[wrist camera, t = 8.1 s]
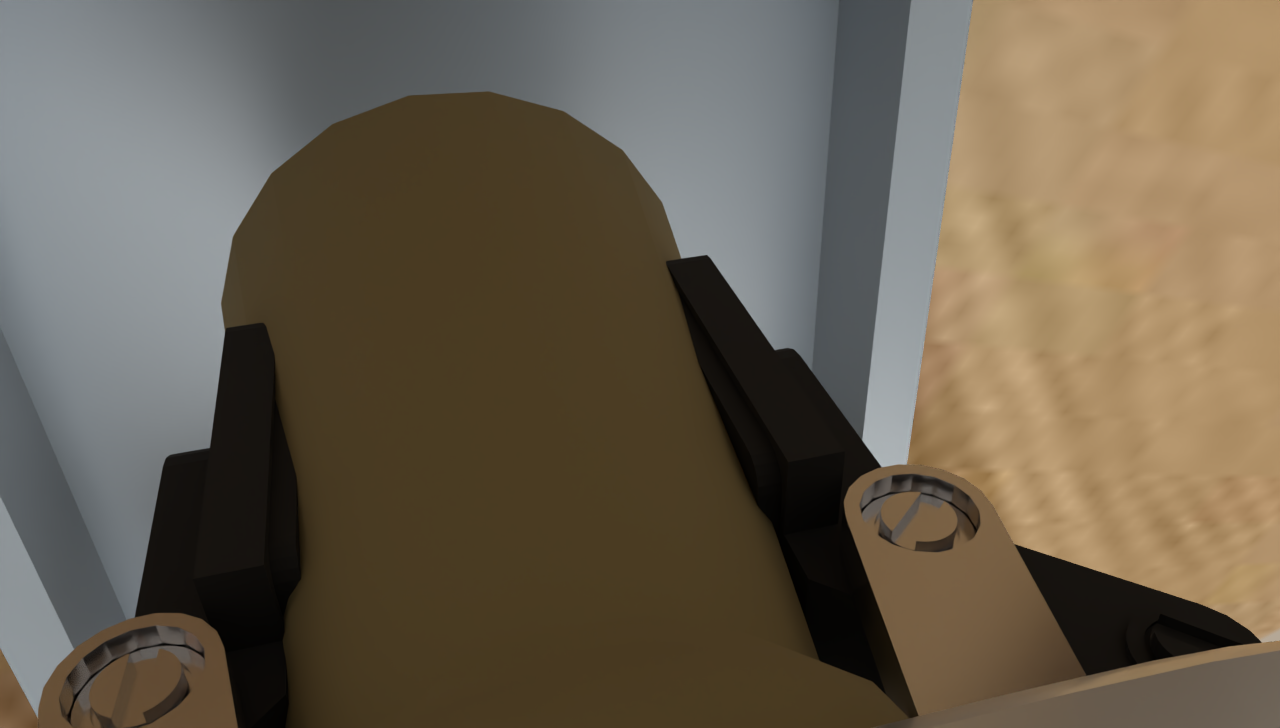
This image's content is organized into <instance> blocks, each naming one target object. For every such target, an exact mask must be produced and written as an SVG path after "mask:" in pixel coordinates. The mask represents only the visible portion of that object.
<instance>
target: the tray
mask: <svg viewBox="0 0 1280 728" xmlns="http://www.w3.org/2000/svg"><path fill="white" fill-rule="evenodd" d="M972 4H973V0H0V649H1V650H2V652H3V654H4V656H5V658H6V660H7V662H8V663H9V665H10V667H11V669H12V671H13V673H14V675H15V676H16V678H17V680H18V682H19V684H20V686H21V688H22V689H23V691H24V693H25V695H26V697H27V699H28V701H29V702H30V704H31V706H32V708H33V710H34V712H35V714H36V715H37V717H38V707H39V703H40V699H41V695H42V691H43V687H44V686H45V684H46V682H47V681H48V679H49V678H50V676H51V675H52V673H53V671H54V670H55V668H56V667H57V665H58V664H59V663H60V662H62V661H63V660H64V659H65V658H66V657H67V656H68V655H69V654H70V653H71V652H72V651H73V650H74V649H75V648H76V647H77V646H78V645H80V644H82V643H83V642H85V641H86V640H88V639H89V638H91V637H92V636H94V635H95V634H97V633H99V632H100V631H102V630H104V629H106V628H108V627H111V626H113V625H116V624H118V623H120V622H123V621H125V620H128V619H131V618H135V612H136V607H137V602H138V596H139V591H140V586H141V580H142V575H143V570H144V564H145V559H146V554H147V548H148V543H149V538H150V532H151V527H152V522H153V516H154V511H155V506H156V500H157V495H158V490H159V484H160V479H161V474H162V468H163V465H164V462H165V459H166V458H167V457H168V456H169V455H172V454H177V453H183V452H189V451H195V450H201V449H206V448H210V443H211V435H212V428H213V420H214V412H215V405H216V397H217V389H218V382H219V374H220V366H221V359H222V351H223V343H224V336H225V329H224V322H223V315H222V308H221V300H222V295H223V289H224V283H225V278H226V272H227V267H228V261H229V255H230V250H231V244H232V239H233V235H234V234H235V232H236V230H237V229H238V227H239V225H240V224H241V222H242V220H243V219H244V217H245V216H246V214H247V212H248V211H249V209H250V207H251V206H252V204H253V202H254V201H255V199H256V197H257V196H258V194H259V193H260V191H261V189H262V188H263V186H264V184H265V183H266V181H267V179H268V178H269V176H270V175H271V173H272V172H274V171H275V170H276V169H277V168H278V167H280V166H281V165H282V164H283V163H285V162H286V161H287V160H288V159H290V158H291V157H292V156H293V155H295V154H296V153H297V152H298V151H300V150H301V149H302V148H303V147H305V146H306V145H307V144H308V143H309V142H311V141H312V140H313V139H314V138H316V137H317V136H318V135H319V134H321V133H322V132H323V131H324V130H326V129H327V128H328V127H329V126H331V125H332V124H334V123H336V122H339V121H342V120H344V119H347V118H350V117H352V116H355V115H358V114H360V113H363V112H366V111H368V110H371V109H374V108H376V107H379V106H382V105H384V104H387V103H390V102H392V101H395V100H398V99H400V98H403V97H406V96H408V95H428V94H447V93H467V92H486V91H490V92H494V93H497V94H501V95H505V96H509V97H512V98H516V99H520V100H524V101H528V102H531V103H535V104H539V105H543V106H547V107H550V108H554V109H558V110H562V111H564V112H566V113H567V114H569V115H570V116H572V117H573V118H575V119H576V120H578V121H579V122H581V123H582V124H584V125H586V126H587V127H589V128H590V129H592V130H593V131H595V132H596V133H598V134H599V135H601V136H602V137H604V138H605V139H607V140H608V141H610V142H611V143H613V144H614V145H616V146H617V147H619V148H620V149H622V150H623V151H624V152H625V154H626V155H627V156H628V158H629V159H630V160H631V162H632V163H633V164H634V166H635V167H636V168H637V170H638V171H639V172H640V174H641V175H642V176H643V178H644V179H645V180H646V181H647V183H648V184H649V185H650V187H651V188H652V189H653V191H654V192H655V193H656V195H657V196H658V197H659V199H660V200H661V201H662V203H663V206H664V209H665V212H666V215H667V218H668V221H669V224H670V226H671V229H672V232H673V235H674V238H675V241H676V244H677V247H678V250H679V253H680V256H681V259H682V258H689V257H695V256H702V255H708V256H709V257H710V258H711V260H712V261H713V262H714V264H715V265H716V267H717V268H718V270H719V271H720V272H721V274H722V275H723V277H724V278H725V280H726V281H727V283H728V284H729V285H730V287H731V288H732V290H733V291H734V293H735V294H736V295H737V297H738V298H739V300H740V301H741V303H742V304H743V305H744V307H745V308H746V310H747V311H748V313H749V314H750V315H751V317H752V318H753V320H754V321H755V323H756V324H757V326H758V327H759V328H760V330H761V331H762V333H763V334H764V336H765V337H766V338H767V340H768V341H769V343H770V344H771V346H772V347H773V348H774V350H778V349H784V348H791V349H794V350H795V351H796V352H797V353H798V354H799V355H800V356H801V357H802V359H803V360H804V361H805V363H806V364H807V365H808V367H809V368H810V370H811V371H812V372H813V374H814V375H815V376H816V378H817V379H818V380H819V382H820V383H821V385H822V386H823V387H824V389H825V390H826V391H827V393H828V394H829V396H830V397H831V398H832V400H833V401H834V402H835V404H836V405H837V406H838V408H839V409H840V411H841V412H842V413H843V415H844V416H845V417H846V419H847V420H848V422H849V423H850V424H851V426H852V427H853V428H854V430H855V431H856V433H857V434H858V435H859V437H860V438H861V439H862V441H863V442H864V443H865V445H866V446H867V448H868V449H869V450H870V452H871V453H872V454H873V456H874V457H875V459H876V460H877V461H878V463H879V464H880V465H881V467H887V466H892V465H897V464H903V465H907V459H908V452H909V445H910V438H911V431H912V424H913V417H914V410H915V403H916V396H917V389H918V382H919V375H920V368H921V361H922V354H923V347H924V340H925V333H926V326H927V319H928V312H929V305H930V298H931V291H932V284H933V277H934V270H935V263H936V256H937V249H938V242H939V235H940V228H941V221H942V214H943V207H944V200H945V193H946V186H947V179H948V172H949V165H950V158H951V151H952V144H953V137H954V130H955V123H956V116H957V109H958V102H959V95H960V88H961V81H962V74H963V67H964V60H965V53H966V46H967V39H968V32H969V25H970V18H971V11H972Z"/></svg>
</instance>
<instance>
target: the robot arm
mask: <svg viewBox="0 0 1280 728" xmlns="http://www.w3.org/2000/svg"><path fill="white" fill-rule="evenodd" d="M666 265H667V267H668V269H669V272H670V274H671V277H672V279H673V281H674V284H675V286H676V288H677V290H678V293H679V296H680V300H681V303H682V307H683V310H684V314H685V317H686V321H687V324H688V328H689V331H690V335H691V338H692V342H693V346H694V349H695V353H696V356H697V360H698V363H699V365H700V368H701V370H702V372H703V375H704V377H705V380H706V382H707V385H708V387H709V389H710V392H711V394H712V397H713V399H714V401H715V404H716V406H717V409H718V411H719V414H720V416H721V418H722V421H723V423H724V426H725V428H726V430H727V433H728V435H729V438H730V440H731V442H732V445H733V447H734V450H735V452H736V455H737V457H738V459H739V462H740V464H741V467H742V469H743V471H744V474H745V476H746V479H747V481H748V483H749V486H750V488H751V491H752V493H753V496H754V498H755V500H756V503H757V505H758V507H759V508H760V509H761V510H762V512H763V513H764V514H765V515H766V516H767V517H768V518H769V519H770V521H771V522H772V524H773V527H774V529H775V532H776V535H777V538H778V541H779V544H780V547H781V550H782V553H783V556H784V559H785V562H786V564H787V567H788V570H789V573H790V576H791V579H792V582H793V585H794V588H795V591H796V594H797V596H798V599H799V602H800V605H801V608H802V611H803V614H804V617H805V620H806V623H807V626H808V629H809V631H810V634H811V637H812V640H813V643H814V646H815V649H816V652H817V655H818V658H819V661H821V662H823V663H826V664H828V665H831V666H833V667H836V668H839V669H841V670H844V671H846V672H849V673H851V674H854V675H857V676H859V677H862V678H864V679H867V680H869V681H872V682H873V683H874V684H875V685H876V686H877V687H878V688H879V689H880V690H882V691H883V692H884V693H885V694H886V695H887V696H888V697H889V698H890V699H891V700H892V701H893V702H894V703H895V704H896V705H897V706H898V707H899V708H900V709H901V710H902V711H903V712H904V713H905V714H906V715H907V716H908V717H909V719H905V720H901V721H897V722H893V723H889V724H885V725H881V726H877V727H873V728H1280V641H1274V642H1266V643H1262V642H1261V641H1260V640H1259V639H1258V638H1257V637H1256V636H1255V635H1254V634H1253V633H1252V632H1251V631H1250V630H1248V629H1247V628H1245V627H1244V626H1242V625H1240V624H1239V623H1237V622H1236V621H1234V620H1233V619H1231V618H1230V617H1228V616H1227V615H1224V614H1222V613H1220V612H1217V611H1215V610H1213V609H1210V608H1208V607H1206V606H1203V605H1201V604H1198V603H1195V602H1191V601H1188V600H1185V599H1182V598H1179V597H1176V596H1173V595H1170V594H1167V593H1164V592H1161V591H1157V590H1154V589H1151V588H1148V587H1145V586H1142V585H1139V584H1136V583H1133V582H1130V581H1126V580H1123V579H1120V578H1117V577H1114V576H1111V575H1108V574H1105V573H1102V572H1099V571H1096V570H1092V569H1089V568H1086V567H1083V566H1080V565H1077V564H1074V563H1071V562H1068V561H1065V560H1062V559H1058V558H1055V557H1052V556H1049V555H1046V554H1043V553H1040V552H1037V551H1034V550H1031V549H1027V548H1024V547H1021V546H1018V545H1015V544H1014V543H1013V541H1012V539H1011V538H1010V536H1009V534H1008V532H1007V530H1006V528H1005V527H1004V525H1003V523H1002V521H1001V519H1000V518H999V516H998V514H997V512H996V510H995V508H994V507H993V505H992V504H991V502H990V501H989V500H988V499H987V497H986V496H985V495H984V494H983V492H982V491H981V490H979V489H978V488H977V487H975V486H974V485H972V484H971V483H970V482H968V481H967V480H965V479H964V478H962V477H959V476H957V475H954V474H952V473H950V472H947V471H945V470H942V469H937V468H933V467H928V466H923V465H903V464H897V465H892V466H887V467H881V465H880V464H879V463H878V461H877V460H876V459H875V457H874V456H873V454H872V453H871V452H870V450H869V449H868V448H867V446H866V445H865V443H864V442H863V441H862V439H861V438H860V437H859V435H858V434H857V433H856V431H855V430H854V428H853V427H852V426H851V424H850V423H849V422H848V420H847V419H846V417H845V416H844V415H843V413H842V412H841V411H840V409H839V408H838V406H837V405H836V404H835V402H834V401H833V400H832V398H831V397H830V396H829V394H828V393H827V391H826V390H825V389H824V387H823V386H822V385H821V383H820V382H819V380H818V379H817V378H816V376H815V375H814V374H813V372H812V371H811V370H810V368H809V367H808V365H807V364H806V363H805V361H804V360H803V359H802V357H801V356H800V355H799V354H798V353H797V352H796V351H795V350H794V349H791V348H784V349H778V350H774V348H773V347H772V346H771V344H770V343H769V341H768V340H767V338H766V337H765V336H764V334H763V333H762V331H761V330H760V328H759V327H758V326H757V324H756V323H755V321H754V320H753V318H752V317H751V315H750V314H749V313H748V311H747V310H746V308H745V307H744V305H743V304H742V303H741V301H740V300H739V298H738V297H737V295H736V294H735V293H734V291H733V290H732V288H731V287H730V285H729V284H728V283H727V281H726V280H725V278H724V277H723V275H722V274H721V272H720V271H719V270H718V268H717V267H716V265H715V264H714V262H713V261H712V260H711V258H710V257H709V256H708V255H702V256H695V257H689V258H682V259H676V260H669V261H666ZM275 392H276V391H275V354H274V351H273V348H272V344H271V341H270V337H269V334H268V331H267V327H266V325H265V324H264V323H255V324H248V325H242V326H235V327H229V328H226V331H225V336H224V343H223V351H222V359H221V366H220V374H219V382H218V389H217V397H216V405H215V412H214V420H213V428H212V435H211V443H210V448H206V449H201V450H195V451H189V452H183V453H177V454H172V455H169V456H168V457H167V458H166V459H165V462H164V465H163V468H162V474H161V479H160V484H159V490H158V495H157V500H156V506H155V511H154V516H153V522H152V527H151V532H150V538H149V543H148V548H147V554H146V559H145V564H144V570H143V575H142V580H141V586H140V591H139V596H138V602H137V607H136V612H135V618H131V619H128V620H125V621H123V622H120V623H118V624H116V625H113V626H111V627H108V628H106V629H104V630H102V631H100V632H99V633H97V634H95V635H94V636H92V637H91V638H89V639H88V640H86V641H85V642H83V643H82V644H80V645H78V646H77V647H76V648H75V649H74V650H73V651H72V652H71V653H70V654H69V655H68V656H67V657H66V658H65V659H64V660H63V661H62V662H60V663H59V664H58V665H57V667H56V668H55V670H54V671H53V673H52V675H51V676H50V678H49V679H48V681H47V682H46V684H45V686H44V687H43V691H42V695H41V699H40V703H39V707H38V728H285V725H286V718H287V711H288V705H289V701H288V683H287V666H286V658H285V653H284V647H283V637H284V633H285V631H284V619H283V618H284V614H285V609H286V605H287V601H288V598H289V596H290V595H291V594H292V592H293V591H294V589H295V588H296V586H297V584H298V583H299V581H300V580H301V569H300V545H299V521H298V498H297V476H296V472H295V469H294V465H293V461H292V458H291V454H290V450H289V447H288V443H287V440H286V436H285V432H284V429H283V425H282V422H281V418H280V414H279V411H278V407H277V404H276V400H275Z"/></svg>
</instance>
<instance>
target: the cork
mask: <svg viewBox="0 0 1280 728" xmlns="http://www.w3.org/2000/svg"><path fill="white" fill-rule="evenodd" d="M676 259H681V256H680V253H679V250H678V247H677V244H676V241H675V238H674V235H673V232H672V229H671V226H670V224H669V221H668V218H667V215H666V212H665V209H664V206H663V203H662V201H661V200H660V199H659V197H658V196H657V195H656V193H655V192H654V191H653V189H652V188H651V187H650V185H649V184H648V183H647V181H646V180H645V179H644V178H643V176H642V175H641V174H640V172H639V171H638V170H637V168H636V167H635V166H634V164H633V163H632V162H631V160H630V159H629V158H628V156H627V155H626V154H625V152H624V151H623V150H622V149H620V148H619V147H617V146H616V145H614V144H613V143H611V142H610V141H608V140H607V139H605V138H604V137H602V136H601V135H599V134H598V133H596V132H595V131H593V130H592V129H590V128H589V127H587V126H586V125H584V124H582V123H581V122H579V121H578V120H576V119H575V118H573V117H572V116H570V115H569V114H567V113H566V112H564V111H562V110H558V109H554V108H550V107H547V106H543V105H539V104H535V103H531V102H528V101H524V100H520V99H516V98H512V97H509V96H505V95H501V94H497V93H494V92H490V91H486V92H467V93H447V94H428V95H408V96H406V97H403V98H400V99H398V100H395V101H392V102H390V103H387V104H384V105H382V106H379V107H376V108H374V109H371V110H368V111H366V112H363V113H360V114H358V115H355V116H352V117H350V118H347V119H344V120H342V121H339V122H336V123H334V124H332V125H331V126H329V127H328V128H327V129H326V130H324V131H323V132H322V133H321V134H319V135H318V136H317V137H316V138H314V139H313V140H312V141H311V142H309V143H308V144H307V145H306V146H305V147H303V148H302V149H301V150H300V151H298V152H297V153H296V154H295V155H293V156H292V157H291V158H290V159H288V160H287V161H286V162H285V163H283V164H282V165H281V166H280V167H278V168H277V169H276V170H275V171H274V172H272V173H271V175H270V176H269V178H268V179H267V181H266V183H265V184H264V186H263V188H262V189H261V191H260V193H259V194H258V196H257V197H256V199H255V201H254V202H253V204H252V206H251V207H250V209H249V211H248V212H247V214H246V216H245V217H244V219H243V220H242V222H241V224H240V225H239V227H238V229H237V230H236V232H235V234H234V235H233V239H232V244H231V250H230V255H229V261H228V267H227V272H226V278H225V283H224V289H223V295H222V300H221V308H222V315H223V322H224V329H225V331H226V328H229V327H235V326H242V325H248V324H255V323H264V324H265V325H266V327H267V331H268V334H269V337H270V341H271V344H272V348H273V351H274V354H275V391H276V392H275V400H276V404H277V407H278V411H279V414H280V418H281V422H282V425H283V429H284V432H285V436H286V440H287V443H288V447H289V450H290V454H291V458H292V461H293V465H294V469H295V472H296V476H297V498H298V521H299V545H300V569H301V580H300V581H299V583H298V584H297V586H296V588H295V589H294V591H293V592H292V594H291V595H290V596H289V598H288V601H287V605H286V609H285V614H284V618H283V619H284V631H285V633H284V637H283V647H284V653H285V658H286V666H287V683H288V701H289V705H288V711H287V718H286V725H285V728H873V727H877V726H881V725H885V724H889V723H893V722H897V721H901V720H905V719H909V717H908V716H907V715H906V714H905V713H904V712H903V711H902V710H901V709H900V708H899V707H898V706H897V705H896V704H895V703H894V702H893V701H892V700H891V699H890V698H889V697H888V696H887V695H886V694H885V693H884V692H883V691H882V690H880V689H879V688H878V687H877V686H876V685H875V684H874V683H873V682H872V681H869V680H867V679H864V678H862V677H859V676H857V675H854V674H851V673H849V672H846V671H844V670H841V669H839V668H836V667H833V666H831V665H828V664H826V663H823V662H821V661H819V658H818V655H817V652H816V649H815V646H814V643H813V640H812V637H811V634H810V631H809V629H808V626H807V623H806V620H805V617H804V614H803V611H802V608H801V605H800V602H799V599H798V596H797V594H796V591H795V588H794V585H793V582H792V579H791V576H790V573H789V570H788V567H787V564H786V562H785V559H784V556H783V553H782V550H781V547H780V544H779V541H778V538H777V535H776V532H775V529H774V527H773V524H772V522H771V521H770V519H769V518H768V517H767V516H766V515H765V514H764V513H763V512H762V510H761V509H760V508H759V507H758V505H757V503H756V500H755V498H754V496H753V493H752V491H751V488H750V486H749V483H748V481H747V479H746V476H745V474H744V471H743V469H742V467H741V464H740V462H739V459H738V457H737V455H736V452H735V450H734V447H733V445H732V442H731V440H730V438H729V435H728V433H727V430H726V428H725V426H724V423H723V421H722V418H721V416H720V414H719V411H718V409H717V406H716V404H715V401H714V399H713V397H712V394H711V392H710V389H709V387H708V385H707V382H706V380H705V377H704V375H703V372H702V370H701V368H700V365H699V363H698V360H697V356H696V353H695V349H694V346H693V342H692V338H691V335H690V331H689V328H688V324H687V321H686V317H685V314H684V310H683V307H682V303H681V300H680V296H679V293H678V290H677V288H676V286H675V284H674V281H673V279H672V277H671V274H670V272H669V269H668V267H667V265H666V261H669V260H676Z"/></svg>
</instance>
